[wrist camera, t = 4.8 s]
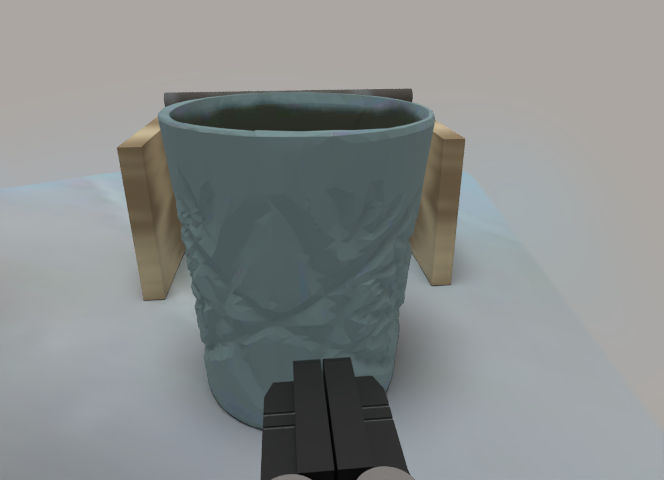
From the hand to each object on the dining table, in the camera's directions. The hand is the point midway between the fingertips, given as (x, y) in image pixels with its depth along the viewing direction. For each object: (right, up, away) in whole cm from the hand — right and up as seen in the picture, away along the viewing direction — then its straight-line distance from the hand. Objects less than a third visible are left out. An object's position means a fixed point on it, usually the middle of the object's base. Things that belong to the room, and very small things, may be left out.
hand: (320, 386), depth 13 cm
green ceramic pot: (-1, -2, +11) cm, 11 cm away
